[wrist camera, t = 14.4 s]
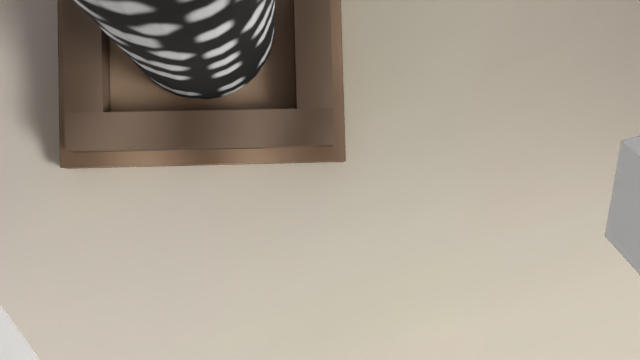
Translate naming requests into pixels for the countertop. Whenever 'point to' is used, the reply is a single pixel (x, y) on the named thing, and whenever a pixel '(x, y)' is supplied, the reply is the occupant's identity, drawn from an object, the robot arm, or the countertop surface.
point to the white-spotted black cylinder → (190, 40)
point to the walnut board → (204, 100)
